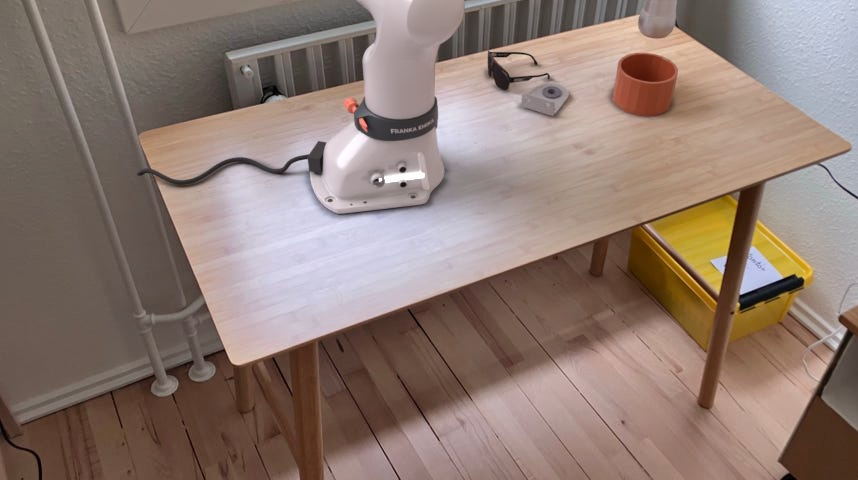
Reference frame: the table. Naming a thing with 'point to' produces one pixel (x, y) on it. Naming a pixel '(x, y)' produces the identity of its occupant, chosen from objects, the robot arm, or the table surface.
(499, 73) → the sunglasses
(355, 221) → the table surface
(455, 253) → the table surface
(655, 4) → the plastic bottle
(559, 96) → the bracket
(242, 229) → the table surface
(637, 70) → the holder sleeve
